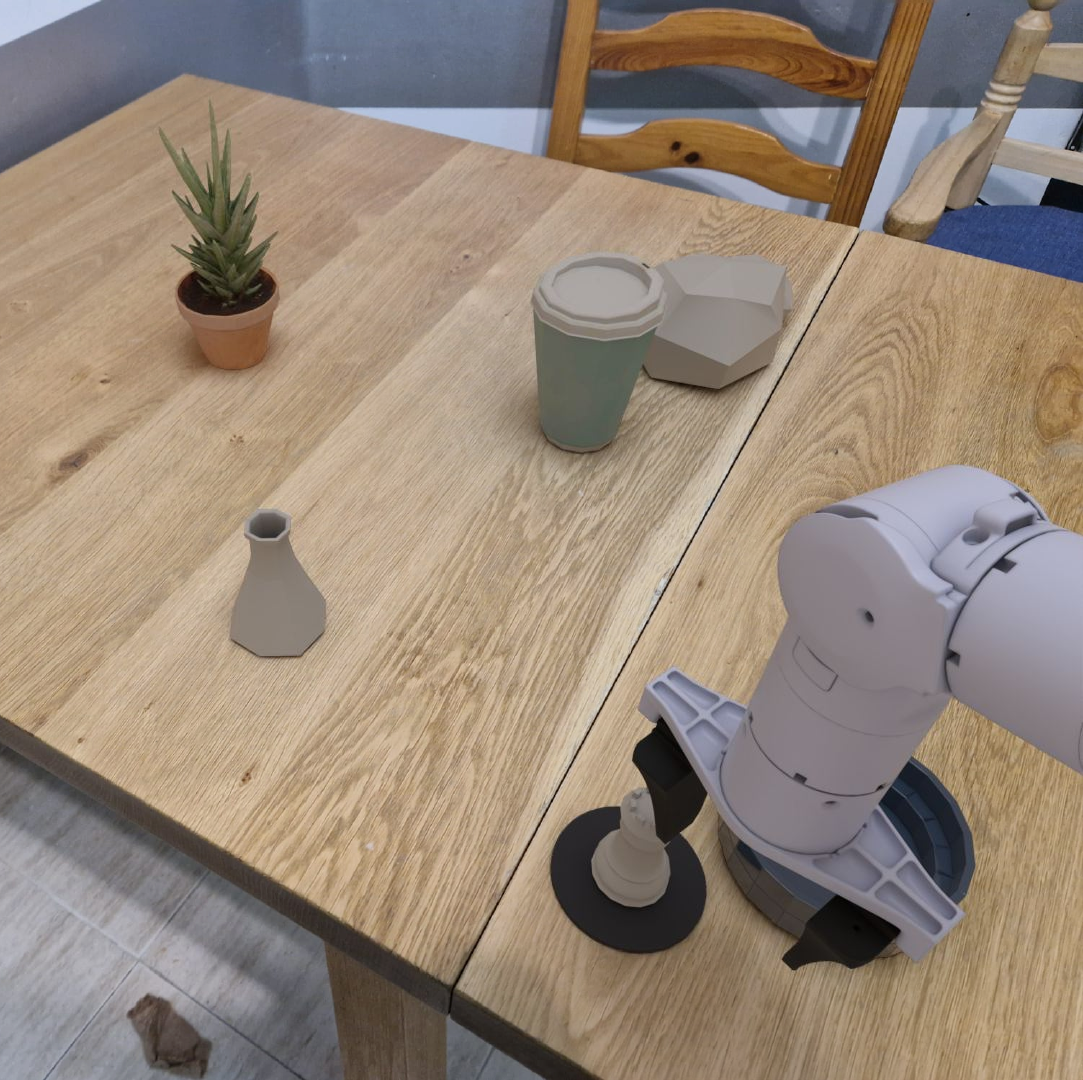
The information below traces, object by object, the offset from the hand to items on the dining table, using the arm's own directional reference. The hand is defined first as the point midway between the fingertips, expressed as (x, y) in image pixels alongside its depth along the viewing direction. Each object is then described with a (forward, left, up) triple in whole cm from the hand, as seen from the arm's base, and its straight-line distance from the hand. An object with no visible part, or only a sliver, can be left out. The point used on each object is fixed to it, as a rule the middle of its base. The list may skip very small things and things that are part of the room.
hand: (734, 888), depth 48 cm
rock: (+40, -48, -11) cm, 64 cm away
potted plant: (+66, -10, -11) cm, 67 cm away
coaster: (+6, -1, -10) cm, 12 cm away
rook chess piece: (+6, -1, -10) cm, 12 cm away
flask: (+35, +5, -11) cm, 37 cm away
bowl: (0, -12, -10) cm, 16 cm away
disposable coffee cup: (+38, -28, -11) cm, 48 cm away
